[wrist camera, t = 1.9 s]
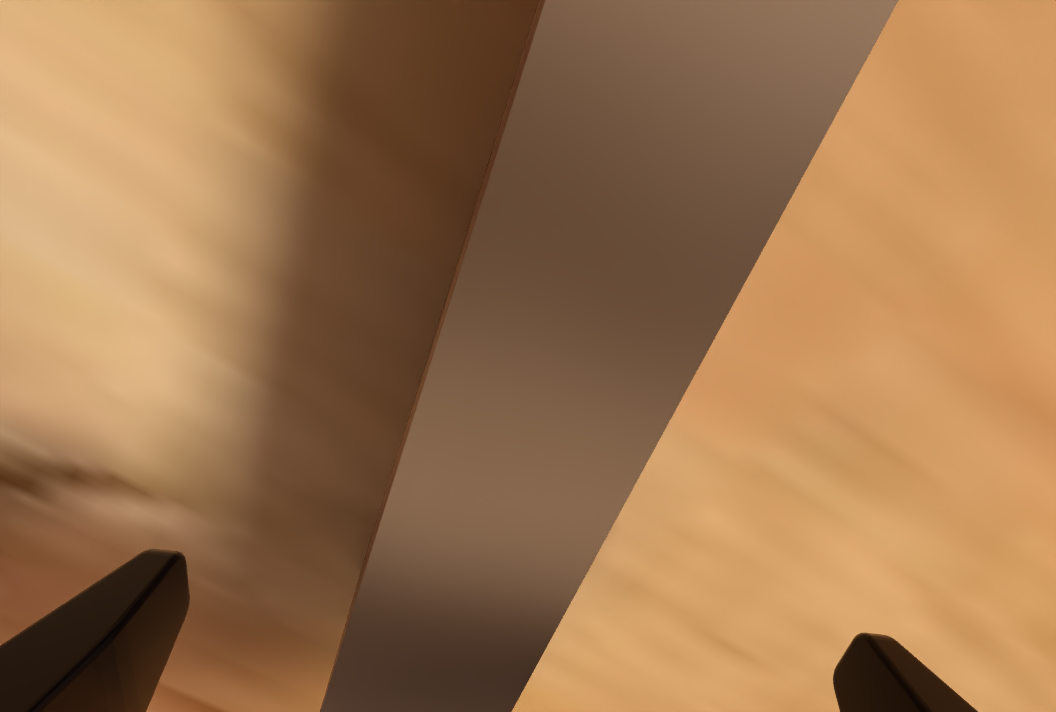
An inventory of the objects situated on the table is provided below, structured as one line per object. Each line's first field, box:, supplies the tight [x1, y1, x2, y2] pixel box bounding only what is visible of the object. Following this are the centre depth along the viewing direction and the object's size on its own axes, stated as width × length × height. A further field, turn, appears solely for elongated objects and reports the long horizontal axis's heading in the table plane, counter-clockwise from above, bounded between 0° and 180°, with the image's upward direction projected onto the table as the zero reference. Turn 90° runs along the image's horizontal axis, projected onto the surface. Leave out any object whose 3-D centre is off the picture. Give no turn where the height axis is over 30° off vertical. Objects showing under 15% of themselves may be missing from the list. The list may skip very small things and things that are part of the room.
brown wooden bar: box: [320, 0, 898, 712], centre depth 8 cm, size 18×3×4 cm, turn 161°
